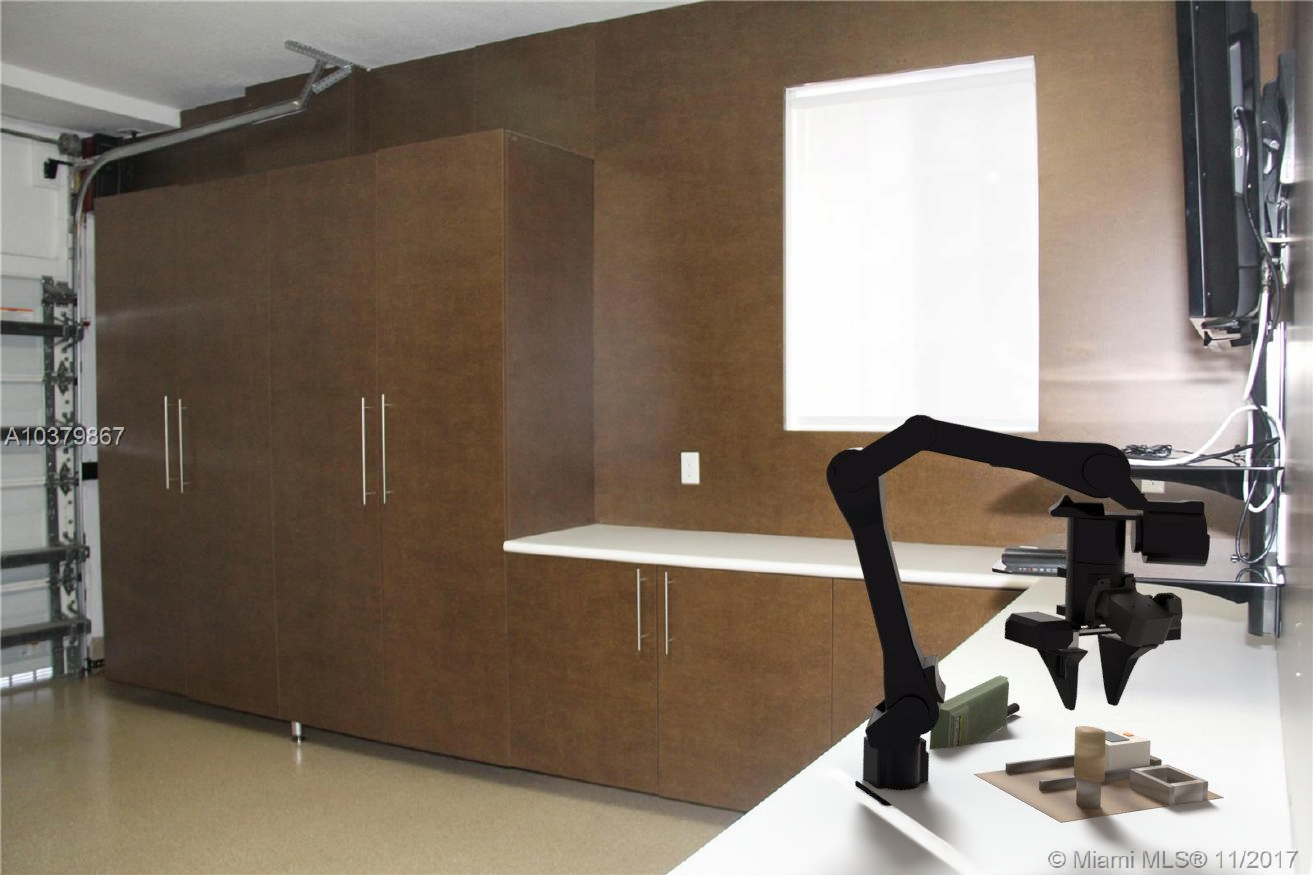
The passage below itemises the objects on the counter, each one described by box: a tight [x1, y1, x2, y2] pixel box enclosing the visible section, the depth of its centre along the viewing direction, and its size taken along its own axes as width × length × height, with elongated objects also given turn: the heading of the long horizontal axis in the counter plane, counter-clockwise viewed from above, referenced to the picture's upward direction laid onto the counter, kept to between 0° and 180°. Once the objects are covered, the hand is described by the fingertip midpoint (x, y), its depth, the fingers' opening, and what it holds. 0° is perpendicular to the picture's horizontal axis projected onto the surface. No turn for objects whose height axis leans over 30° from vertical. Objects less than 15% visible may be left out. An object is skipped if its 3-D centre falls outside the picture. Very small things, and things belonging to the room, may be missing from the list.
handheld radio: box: [929, 675, 1021, 750], centre depth 133 cm, size 7×3×25 cm
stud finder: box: [1103, 727, 1151, 771], centre depth 117 cm, size 6×5×4 cm
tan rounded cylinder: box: [1073, 725, 1106, 810], centre depth 106 cm, size 3×3×8 cm
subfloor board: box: [973, 754, 1224, 823], centre depth 111 cm, size 22×14×4 cm, turn 109°
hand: (1091, 707), depth 105 cm, fingers open, 5 cm apart
